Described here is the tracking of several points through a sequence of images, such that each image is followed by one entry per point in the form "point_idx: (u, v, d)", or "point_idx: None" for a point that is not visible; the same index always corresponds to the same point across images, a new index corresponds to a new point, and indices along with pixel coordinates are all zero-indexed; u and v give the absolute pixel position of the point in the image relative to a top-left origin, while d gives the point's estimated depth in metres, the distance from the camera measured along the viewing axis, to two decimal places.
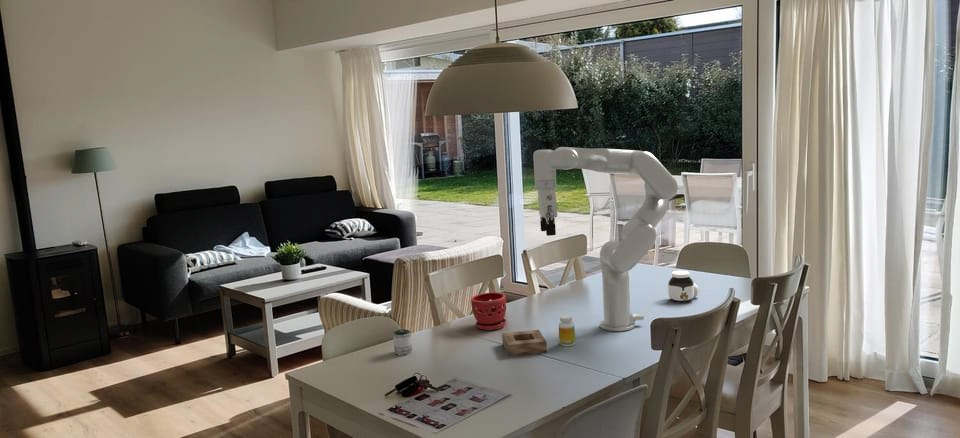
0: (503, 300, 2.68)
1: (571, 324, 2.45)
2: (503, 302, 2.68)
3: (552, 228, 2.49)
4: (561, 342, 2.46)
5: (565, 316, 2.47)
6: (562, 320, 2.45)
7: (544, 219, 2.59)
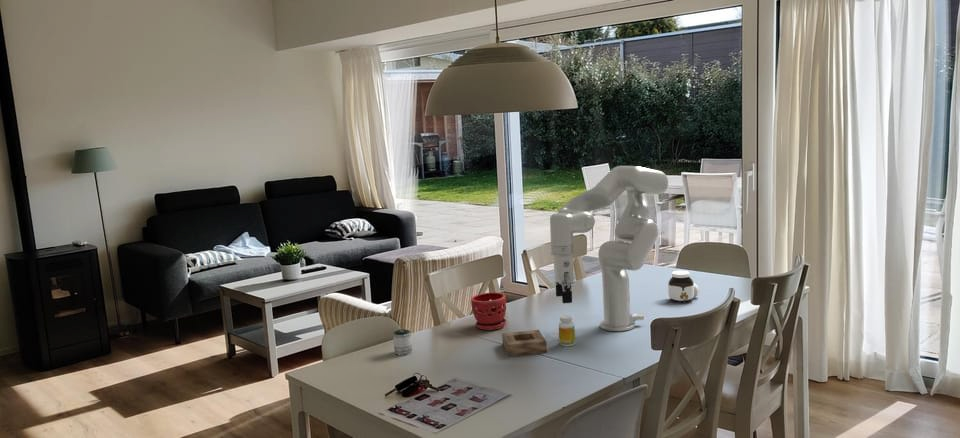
0: (503, 300, 2.68)
1: (571, 324, 2.45)
2: (503, 302, 2.68)
3: (568, 296, 2.39)
4: (561, 342, 2.46)
5: (565, 316, 2.47)
6: (562, 320, 2.45)
7: (560, 284, 2.49)
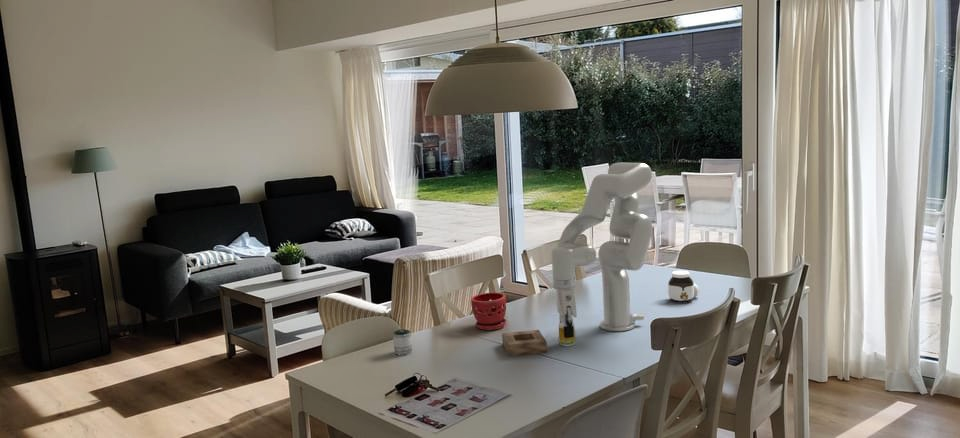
0: (503, 300, 2.68)
1: None
2: (503, 302, 2.68)
3: (570, 330, 2.43)
4: (561, 342, 2.46)
5: (565, 316, 2.47)
6: (562, 320, 2.45)
7: None
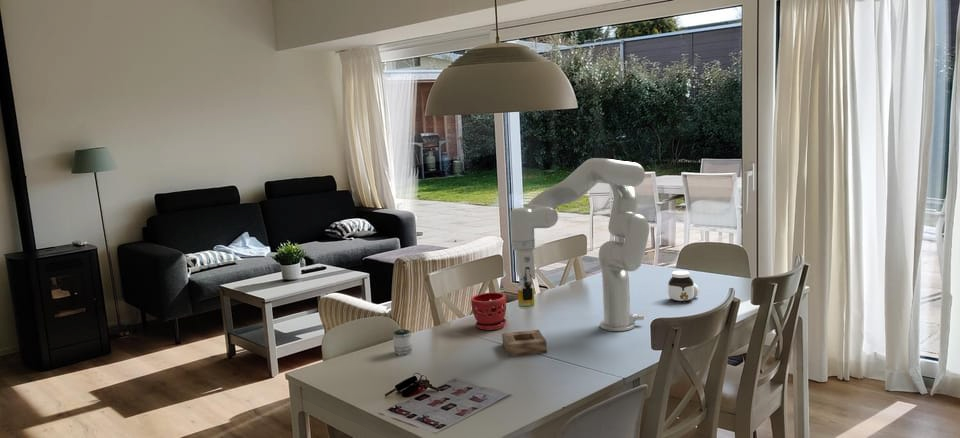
0: (503, 300, 2.68)
1: None
2: (503, 302, 2.68)
3: (529, 293, 2.39)
4: (520, 305, 2.42)
5: (524, 278, 2.43)
6: (521, 282, 2.41)
7: None
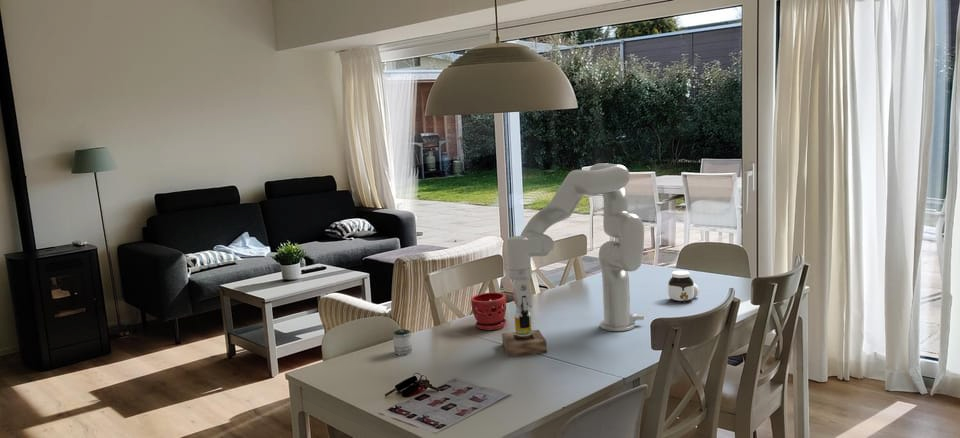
0: (503, 300, 2.68)
1: None
2: (503, 302, 2.68)
3: (526, 321, 2.41)
4: (517, 332, 2.44)
5: (521, 306, 2.44)
6: (518, 310, 2.43)
7: None
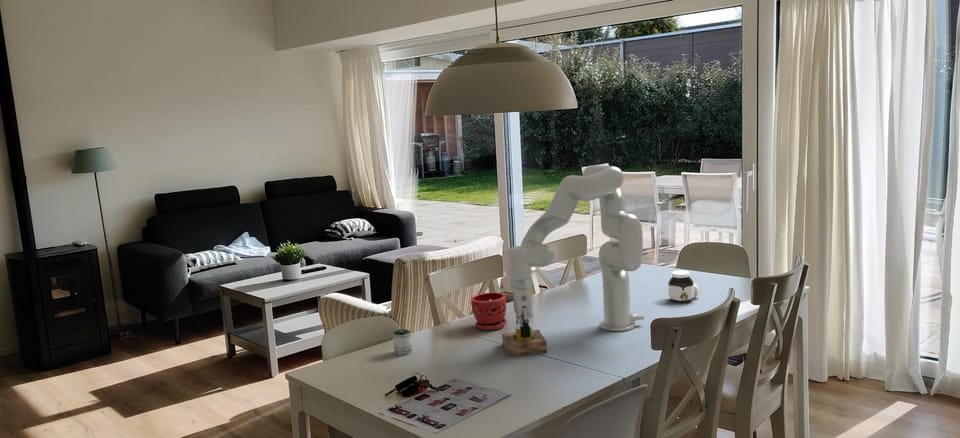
0: (503, 300, 2.68)
1: None
2: (503, 302, 2.68)
3: (526, 330, 2.40)
4: None
5: None
6: (519, 321, 2.43)
7: None
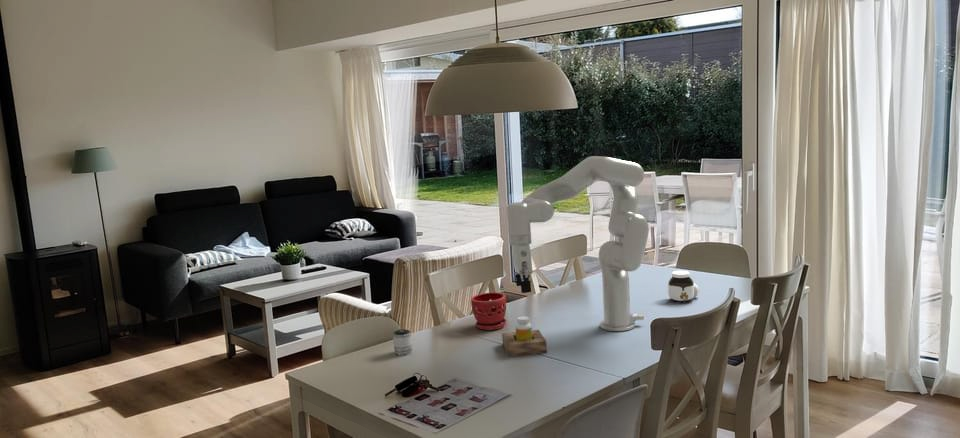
0: (503, 300, 2.68)
1: (528, 325, 2.43)
2: (503, 302, 2.68)
3: (527, 285, 2.38)
4: None
5: (522, 317, 2.45)
6: (519, 321, 2.43)
7: (519, 273, 2.48)
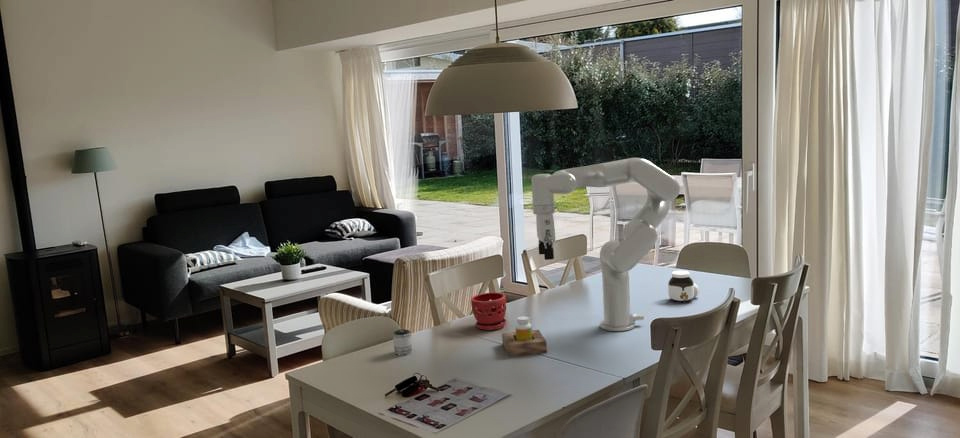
0: (503, 300, 2.68)
1: (528, 325, 2.43)
2: (503, 302, 2.68)
3: (550, 252, 2.50)
4: None
5: (522, 317, 2.45)
6: (519, 321, 2.43)
7: (542, 242, 2.60)
